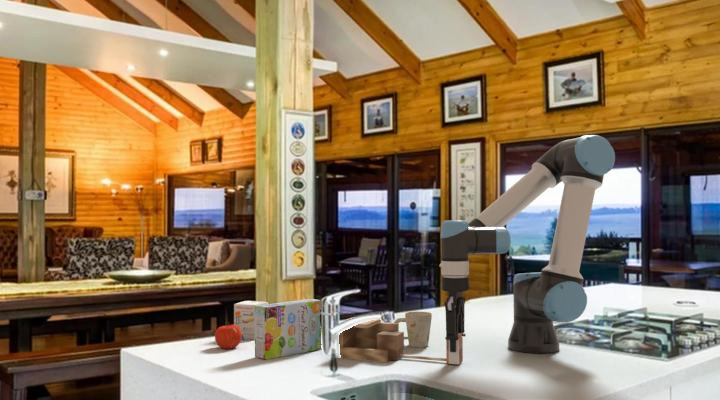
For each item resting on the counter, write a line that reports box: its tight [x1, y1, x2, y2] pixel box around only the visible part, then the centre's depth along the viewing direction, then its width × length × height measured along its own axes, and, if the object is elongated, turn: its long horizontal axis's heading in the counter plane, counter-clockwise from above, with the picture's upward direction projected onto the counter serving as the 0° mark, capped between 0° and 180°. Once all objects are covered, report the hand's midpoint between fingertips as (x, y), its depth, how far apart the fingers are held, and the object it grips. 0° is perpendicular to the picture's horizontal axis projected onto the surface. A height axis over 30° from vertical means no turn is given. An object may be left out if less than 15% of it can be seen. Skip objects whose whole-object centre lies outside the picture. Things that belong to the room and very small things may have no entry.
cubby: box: [339, 316, 400, 363], centre depth 186 cm, size 14×11×10 cm
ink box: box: [233, 300, 269, 341], centre depth 215 cm, size 9×8×12 cm
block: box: [377, 331, 463, 366], centre depth 180 cm, size 23×6×8 cm, turn 68°
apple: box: [214, 321, 242, 350], centre depth 197 cm, size 8×8×8 cm
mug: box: [393, 311, 433, 348], centre depth 202 cm, size 8×13×10 cm, turn 78°
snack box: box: [254, 298, 323, 360], centre depth 190 cm, size 21×6×15 cm, turn 134°
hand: (455, 361), depth 176 cm, fingers closed on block, 3 cm apart
